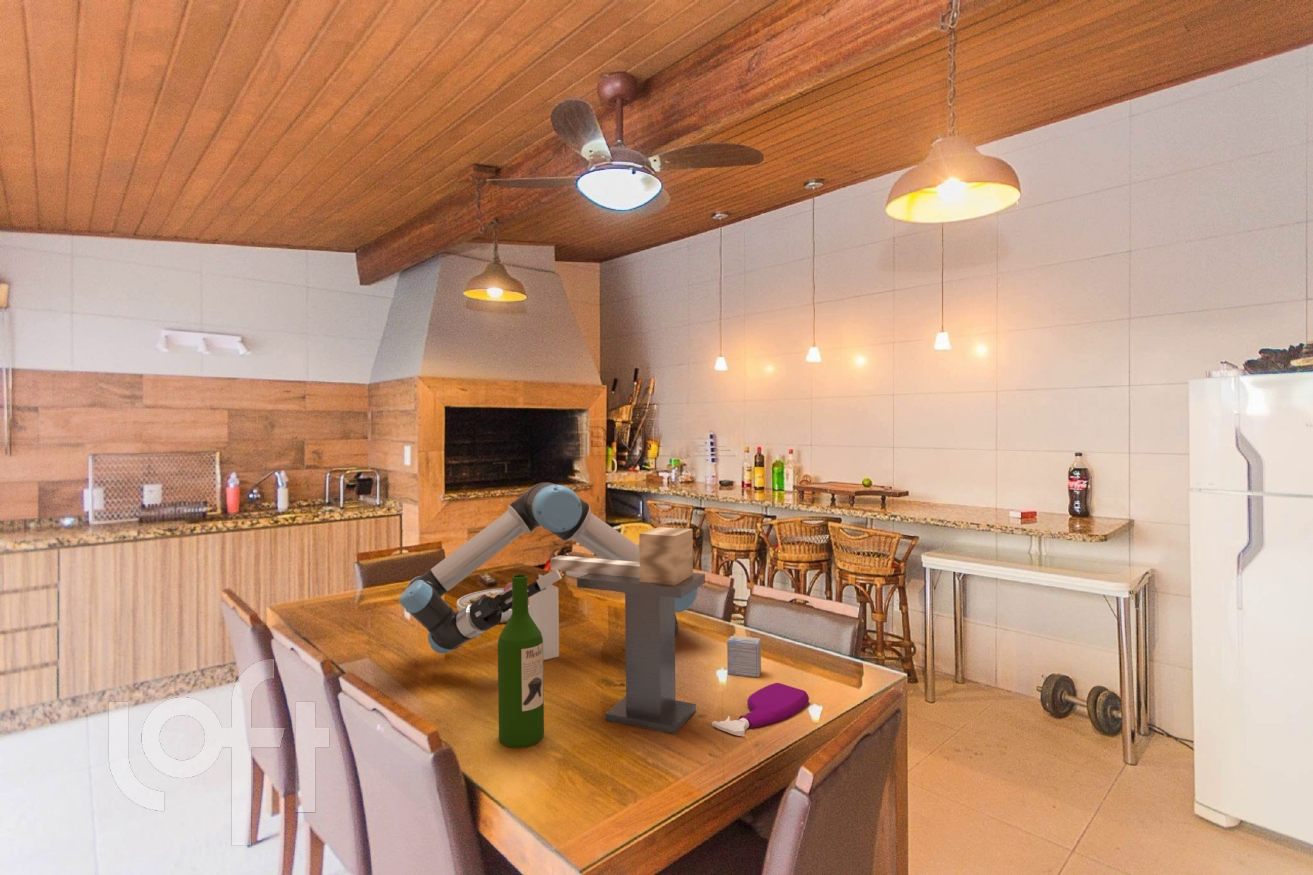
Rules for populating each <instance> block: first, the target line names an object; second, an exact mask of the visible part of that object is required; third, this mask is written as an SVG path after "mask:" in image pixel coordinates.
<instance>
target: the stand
mask: <svg viewBox="0 0 1313 875" xmlns="http://www.w3.org/2000/svg"><path fill="white" fill-rule="evenodd" d="M704 584H706V573H701V572H693V575H692V576H690V577H689V578H687V579H685V580H683V581H682V582H680V583H678V584H676V585H668V584H658V583H648V582H640V578H634V577H623V576H613V575H602V574H592V573H585V574H584V575H581V576H579V577H577V578H576V587H577V588H580V589H587V590H588V589H590V590H600V591H608V592H619V593H624V609H625V610H624V611H625V615H624V616H625V617H624V618H625V621H624V622H625V624H624V625H625V627H624V628H625V696H624V697H623V698H622V699H621V700H620V701H618V702H617V703H615V705H613V706H612V707H611V708H610V709H608V710H607V711H606V712H605V715H604V720H605V721H607V722H611V723H612V722H613V723H617V724H621V725H626V726H632V727H636V728H642V729H647V730H651V731H657V732H662V733H666V734H672V735H676V734H677V733H678V731H679V730H680V729H681V728H682V727H683V726H684V725H685V723H686V722H687V721H688V720H689V719H691V717H692V716H693V715H694V713H696V712H697V705H696V703H695V702H694V703H693V702H687V701H682V700H677V699H676V635H675V615H676V612H675V598H682V597H684V596H685V595H687V594H689V593H690V592H692V591H693V590H695V589H696V588H697V589H698V588H699V587H701V586H702V585H704Z"/></svg>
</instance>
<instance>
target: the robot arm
mask: <svg viewBox="0 0 1313 875" xmlns="http://www.w3.org/2000/svg"><path fill="white" fill-rule="evenodd" d="M507 506H508V507H507V510H506V512H504V513H503V514H501V515H500V516H499V517H498V518H496V519H495V520H493V521H492V522H491V523H490V524H487V526H485V527H484V528H483V529H482V530H481V531H479V532H477V534H475V535H474V536H473V537H471V538H470V539H468V540H467V541H465V543H463V544H462V545H460V546H459V547H458V548H456V549H455V550H454V551H453V552H452V553H449V554H448V556H446V557H445V558H443V559H442V560H441V561H439V562H438V563H437V564H435V566H433V567H432V568H430V569H429V570H428V571H426V572H425V573H423V575H418V576H416V577H414V578H412V579H411V580H410V582H409V583H408V585H407V588H406V589H405V590H403V592H402V593H401V594H400V596H399V598H398V602H399V604H400V606H402V607H403V609H405V612H407V613H409V615H411V616H412V617H413V618H414V619H415V620H416V621H417V622H418V623H420V624H421V626H423V627H424V628H425V629H426V631H428V634H427V641H428V642H427V643H429V645H430V648H431V649H432V650H433V651H434V652H435V653H437V654H441V655H442V654H447V653H450V652H452V651H455V650H457V649H458V648H460V647H461V646H463V645H465V643H468V642H469V641H470V640H472V639H475V638H477V639H480V638H481V637H482V636H481V635H482V634H483V633H485V632H487V631H488V630H491V629H492V628H494V627H496V626H497V625H499V624H500V623H499V622H500V621H501V618H502V612H503V613H504V612H506V611H508V610H509V609H510V608H512V587H510V588H509V589H507V590H505V591H504V592H502V593H501V594H502V595H500V594H499V595H496V597H495V598H493V597H489V596H484V597H482V598H480V599H479V600H477V601H475V602H474V603H472V604H470V605H468V606H467V607H465V608H463V609H462V610H460V611H459V612H458V611H455V610H454V609H453V607H451V606H450V605H449V604H448V602H446V601H445V600H444V599H443V597H444V595H445V594H447V593H448V592H449V591H450V590H452V589H453V588H454V587H456V586H457V585H458V584H459V583H460V582H462V581H463V580H465V579H466V578H467V577H468V576H470V575H471V574H472V573H474V572H475V571H476V570H478V569H480V567H481V566H482V565H484V564H485V563H487V562H488V561H489V560H490V559H492V558H493V557H494V556H495V555H497V554H498V553H499V552H501V551H502V550H503V549H505V548H506V547H507V546H508V545H510V544H511V543H513V541H515V540H516V539H517V538H519V537H520V536H521V535H523V534H524V533H526V534H527V533H528V534H531V532H532V531H534V530H535V529H537V528H539V527H540V526H541V527H542V528H543V529H545V530H547V531H549V532H550V533H552V534H553V535H555V536H556V537H558V538H559V539H561V540H562V541H564V542H568V541H574V542H576V543H577V544H578V545H580V546H582V547H583V548H585V549H586V550H587V551H589V552H590V553H592V554H594V555H595V556H597V557H598V558H599V559H608V560H620V561H632V562H639V544H636V543H635V542H634V541H632V540H631V539H629V538H628V537H626V536H625V535H623V534H622V533H621V532H619V531H618V530H616V529H615V528H613V527H612V526H611V525H609V524H608V523H606V522H605V521H603V520H602V519H600V518H599V517H598V516H596V515H595V514H593V513H592V511H591V505H590V504H589V503H588V502H586V501H584V500H583V499H582V498H580V497H579V496H578V494H577V493H575V491H574V490H573V489H571V488H570V487H568V486H565V485H561V484H555V483H553V482H549V481H548V482H547V481H546V482H545V481H543V482H540V483H537V484H535V485H533V486H531V487H530V488H529V489H527V491H525V492H524V493H522V495H519V497H517V499H515V500H514V501H513V502H511V503H510V504H509V505H507ZM562 577H563V576H561V573H560V570H550V571H549V572H548V573H546V574H544V575H543V576H542V577H541V578H539V577H538V576H537V577H536V580H535V581H534V582H531V583H529V584H527V589H528V598H529V597H531V596H532V595H534V594H536V593H538V592H540V591H542V590H545V589H546V587H548V586H549V585H553V584H554V583H557V582H558V581H559V580H561V579H563V578H562ZM698 592H699V591H698V588H696V589H695V590H693V591H692V592H690V593H689V594H687V595H685V596H684V597H682V598H675V613H682V612H684V611H686V610H688V609H689V608H691V606H692V605H694V602H695V600H696V599H697V596H698ZM679 629H680V628H679V621H678V620H677V615H676V614H675V636H676V635H677V634H678V633H679V631H680V630H679Z"/></svg>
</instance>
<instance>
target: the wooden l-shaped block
mask: <svg viewBox="0 0 1313 875" xmlns="http://www.w3.org/2000/svg"><path fill="white" fill-rule="evenodd" d="M638 535H639V536H638V537H639V538H638V539H639V540H638V543H639V544H638V546H639V562H632V561H620V560H608V559H601V558H594V557H581V556H570V555H569V556H568V555H557V556H554V557H551V558H549V560H550V561H549V562H550V563H549V564H550V565H549V566H550V571H552V570H558V571H559V572H561V571H562V572H571V573H572V572H573V573H582V574H583V573H584V574H588V573H592V574H602V575H613V576H623V577H634V578H640V582H648V583H658V584H668V585H676V584H678V583H680V582H682V581H683V580H685V579H687V578H689V577H690V576H692V575H693V573H694V557H693V556H694V555H693V553H694V551H693V550H694V549H693V546H694V544H693V542H694V540H693V537H694V536H693V528H683V527H682V528H681V527H664V526H662V527H661V526H658V527H656V528H652V529H649V530H646V531H643V532H641V533H639V534H638Z"/></svg>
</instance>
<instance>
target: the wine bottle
mask: <svg viewBox="0 0 1313 875" xmlns="http://www.w3.org/2000/svg"><path fill="white" fill-rule="evenodd" d="M511 579H512V581H511V582H512V615H511V617H510V619H509V620H508V622H506V624H505V625H504V627H503V628H502V631H501V632H500V634H499V637H498V639H497V684H498V685H497V686H498V687H497V695H498V696H497V698H498V702H497V703H498V706H497V707H498V740H499V742H500V744H501V745H503V746H505V747H507V748H515V749H516V748H517V749H518V748H526V747H531V746H534V745H536V744H537V743H539V742H540V741H541V740H542V739H543V738H544V735H545V709H544V708H545V700H544V699H545V697H544V695H545V693H544V692H545V689H544V684H545V683H544V682H545V681H544V660H543V638H542V634H541V632H540V630H539V629H538V627H537V626H536V624H535V623H534V621H533V620H532V618H531V617H530V615H529V612H528V589H527V586H528V575H526V574H515V575H512V577H511Z"/></svg>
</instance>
